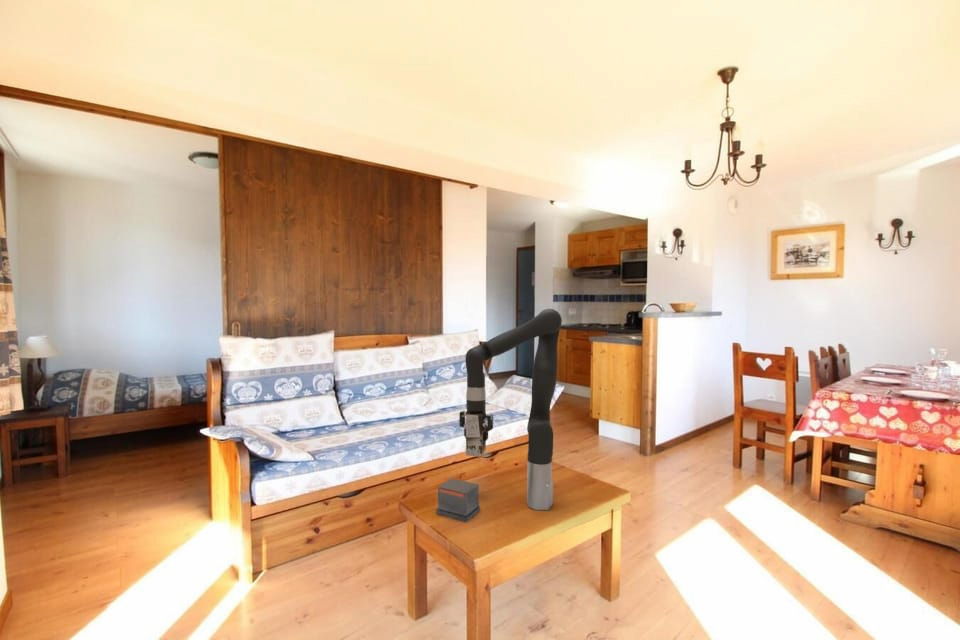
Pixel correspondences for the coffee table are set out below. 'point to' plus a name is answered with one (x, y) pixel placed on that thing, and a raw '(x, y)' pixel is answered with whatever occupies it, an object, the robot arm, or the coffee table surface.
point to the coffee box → (475, 434)
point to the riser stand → (458, 499)
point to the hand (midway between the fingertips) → (475, 439)
